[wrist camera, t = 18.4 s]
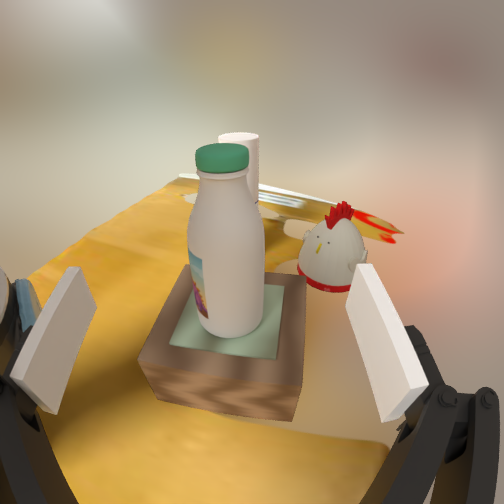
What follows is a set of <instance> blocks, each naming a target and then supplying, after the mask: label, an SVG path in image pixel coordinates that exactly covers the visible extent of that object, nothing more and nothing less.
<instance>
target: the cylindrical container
mask: <svg viewBox="0 0 504 504" xmlns="http://www.w3.org/2000/svg"><path fill="white" fill-rule="evenodd" d="M218 142H219V143H235V144H241V145H244V146H246V147H247V148H248V150H249V165H248V168H249V172H248V173H247V175H246V177H247V183H248V187H249V190H250V193H251V196H252V198H253V200H254V202H255V204H256V206H257V208H258V177H259V136H258V135H257V134H253V133H245V132H236V133H227V134H223V135H220V136H219V137H218Z"/></svg>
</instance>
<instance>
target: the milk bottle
mask: <svg viewBox="0 0 504 504" xmlns="http://www.w3.org/2000/svg"><path fill="white" fill-rule="evenodd" d="M195 160H196V166H197V172H196V173H197V175H198V176H199V177H200V185H199V190H198V195H197V198H196V202H195V204H194V207H193V209H192V212H191V215H190V218H189V222H188V229H187V242H188V253H189V261H190V269H191V276H192V282H193V289H194V295H195V301H196V307H197V312H198V317H199V321H200V323H201V325H202V326H203V327H204V328H205V329H206V330H207V331H208V332H209V333H211V334H213V335H215V336H218V337H221V338H238V337H242V336H245V335H247V334H249V333H251V332H252V331H253V330H254V329H256V327H257V326H258V325H259V323H260V322H261V319H262V316H263V300H264V269H265V234H264V226H263V222H262V218H261V215H260V213H259V210H258V208H257V206H256V204H255V202H254V200H253V198H252V196H251V193H250V190H249V187H248V183H247V177H246V175H247V173H248V172H249V168H248V165H249V150H248V148H247V147H246V146H244V145H241V144H235V143H216V144H210V145H206V146H203V147H200V148H199V149H197V150H196V154H195Z"/></svg>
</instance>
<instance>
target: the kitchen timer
mask: <svg viewBox="0 0 504 504" xmlns="http://www.w3.org/2000/svg"><path fill="white" fill-rule="evenodd" d="M353 213H354V209H352V208H351V206H350V205H348V204H347V202H345V201H342V204H340V203H338V204H337V207H336V208H334V207H332V206H331V210H330V216H327V215H325V220H323V221H321V222H320V223H319V224H317V225H316V226H315V227H314V228H313V229H312V231H309V230H308V231H307V232H306V233H305V234H304V237H303V243H304V244H303V246H302V248H301V250H300V253H299V257H298V267H297V270H298V273H299V275H303V276H306V283H308V284H309V285H310V286H312V287H314V288H317V289H319V290H322V291H326V292H332V293H342V292H346V291H350V287H351V284H352V280H353V277H354V273H355V269H356V265H357V264H366V259H367V252H368V251H367V250H365V248H364V243H363V239H362V237H361V234H360V232H359V231H358V229H357V228H356V226H355V225H354V224H353V223H352V222H351V221H350V220H351V218H352V215H353Z"/></svg>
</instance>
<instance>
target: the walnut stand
mask: <svg viewBox="0 0 504 504" xmlns="http://www.w3.org/2000/svg"><path fill="white" fill-rule="evenodd" d="M305 317H306V276H303V275H291V274H280V273H269V272H264V300H263V316H262V319H261V322H260V323H259V325H258V326H257V327H256V329H254V330H253V331H252V332H251V333H249V334H247V335H245V336H242V337H238V338H221V337H218V336H215V335H213V334H211V333H209V332H208V331H207V330H206V329H205V328H204V327H203V326H202V325H201V323H200V321H199V317H198V312H197V307H196V301H195V295H194V289H193V282H192V276H191V269H190V265H187V264H185V266H184V268H183V270H182V272H181V274H180V276H179V277H178V279H177V281H176V283H175V285H174V287H173V289H172V291H171V293H170V294H169V296H168V298H167V300H166V302H165V304H164V306H163V308H162V310H161V312H160V314H159V316H158V318H157V320H156V322H155V324H154V326H153V328H152V330H151V332H150V334H149V336H148V338H147V340H146V342H145V344H144V346H143V348H142V350H141V352H140V354H139V356H138V358H137V361H138V363H139V365H140V367H141V369H142V371H143V373H144V375H145V377H146V379H147V380H148V382H149V384H150V386H151V388H152V390H153V392H154V394H155V395H156V397H157V399H159V400H162V401H166V402H171V403H175V404H179V405H183V406H188V407H193V408H197V409H202V410H208V411H213V412H219V413H224V414H231V415H237V416H244V417H252V418H259V419H268V420H278V421H290V422H292V419H293V416H294V413H295V409H296V406H297V402H298V399H299V395H300V392H301V388H302V380H303V361H304V343H305Z"/></svg>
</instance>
